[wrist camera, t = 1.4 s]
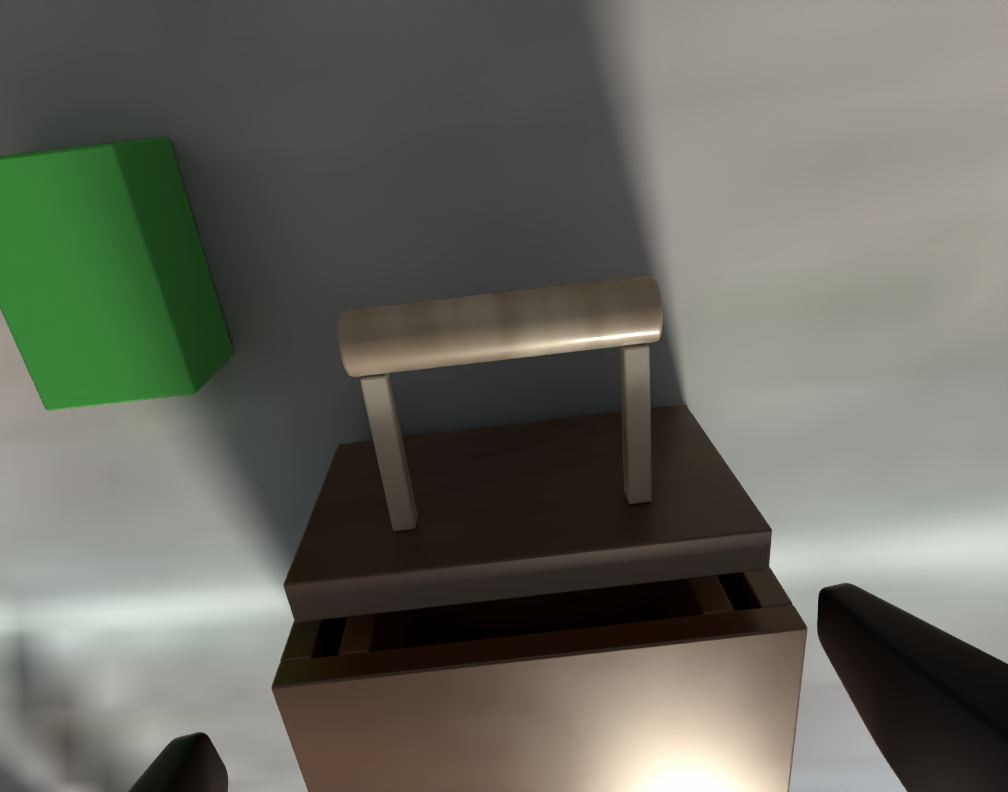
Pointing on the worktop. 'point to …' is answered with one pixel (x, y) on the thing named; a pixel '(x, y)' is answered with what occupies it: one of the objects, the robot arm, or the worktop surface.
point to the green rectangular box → (106, 275)
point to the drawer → (519, 488)
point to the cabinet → (556, 705)
